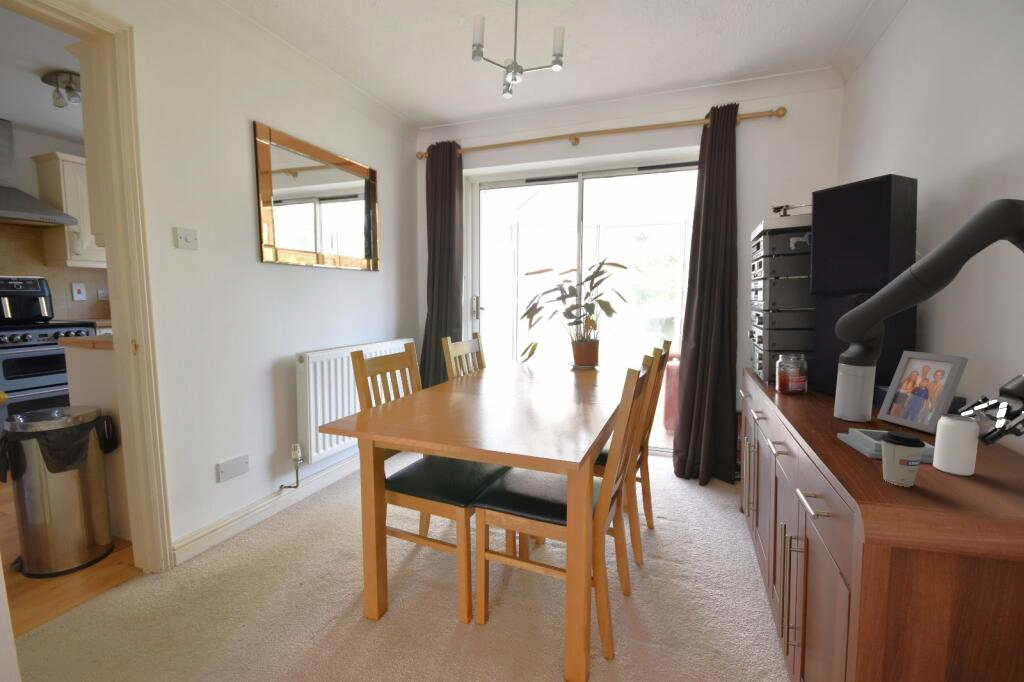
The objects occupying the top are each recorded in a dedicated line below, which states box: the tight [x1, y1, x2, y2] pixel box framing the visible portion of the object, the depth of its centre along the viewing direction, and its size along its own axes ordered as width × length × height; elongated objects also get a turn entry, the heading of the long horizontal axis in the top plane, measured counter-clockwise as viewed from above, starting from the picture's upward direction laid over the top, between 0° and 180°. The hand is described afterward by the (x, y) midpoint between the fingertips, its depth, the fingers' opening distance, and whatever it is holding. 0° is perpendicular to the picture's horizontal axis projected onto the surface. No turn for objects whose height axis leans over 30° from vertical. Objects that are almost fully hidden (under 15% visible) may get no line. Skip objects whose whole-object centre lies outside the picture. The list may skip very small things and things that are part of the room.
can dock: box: [836, 427, 935, 464], centre depth 111 cm, size 16×16×3 cm
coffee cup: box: [880, 430, 926, 488], centre depth 91 cm, size 7×7×10 cm
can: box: [932, 413, 980, 477], centre depth 98 cm, size 6×6×12 cm
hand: (966, 436), depth 97 cm, fingers open, 8 cm apart
